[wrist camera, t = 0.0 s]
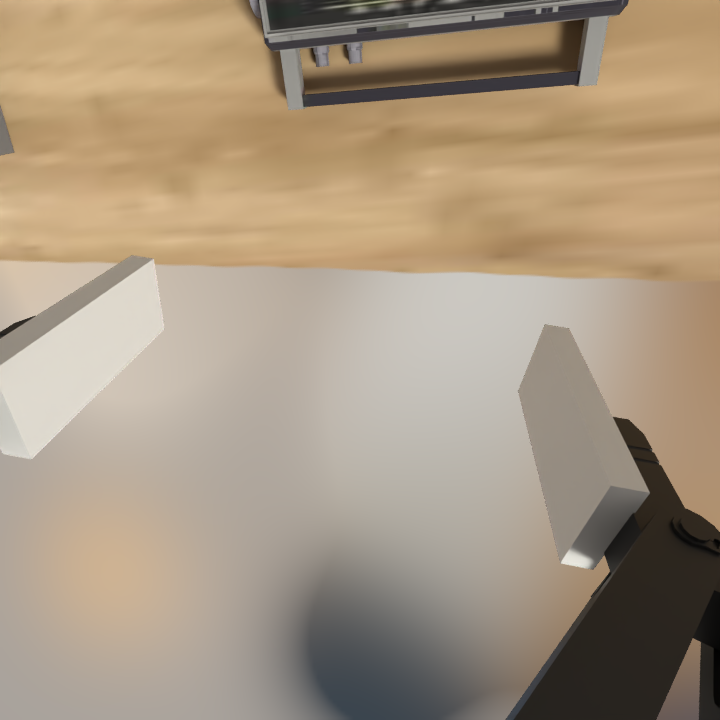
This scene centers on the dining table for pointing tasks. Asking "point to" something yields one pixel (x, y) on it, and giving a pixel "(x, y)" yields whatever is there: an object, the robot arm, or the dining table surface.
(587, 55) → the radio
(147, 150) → the dining table surface
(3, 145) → the grey slider base
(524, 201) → the dining table surface
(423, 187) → the dining table surface
